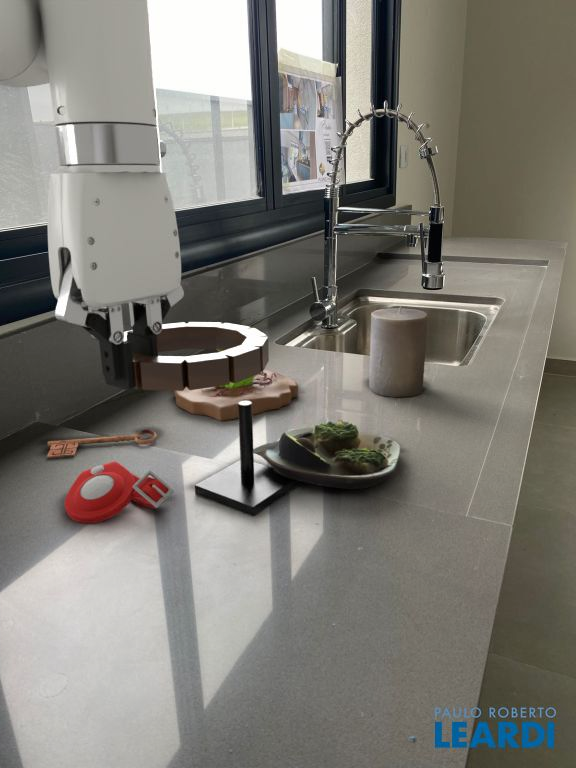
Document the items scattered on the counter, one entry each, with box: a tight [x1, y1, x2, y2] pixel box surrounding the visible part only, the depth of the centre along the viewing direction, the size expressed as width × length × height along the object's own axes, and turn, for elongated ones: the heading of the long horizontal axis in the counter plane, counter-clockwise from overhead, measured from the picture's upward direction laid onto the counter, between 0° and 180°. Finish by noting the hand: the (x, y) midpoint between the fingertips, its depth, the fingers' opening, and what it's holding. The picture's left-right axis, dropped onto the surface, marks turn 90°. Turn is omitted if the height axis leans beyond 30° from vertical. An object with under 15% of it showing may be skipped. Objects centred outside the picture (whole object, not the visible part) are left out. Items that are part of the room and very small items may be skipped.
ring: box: [123, 321, 270, 392], centre depth 57 cm, size 15×15×2 cm
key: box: [46, 429, 157, 459], centre depth 85 cm, size 6×1×15 cm
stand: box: [194, 401, 300, 517], centre depth 71 cm, size 9×9×11 cm
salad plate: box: [253, 419, 401, 490], centre depth 80 cm, size 19×18×5 cm
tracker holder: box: [64, 461, 175, 524], centre depth 70 cm, size 12×4×10 cm
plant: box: [173, 349, 299, 422], centre depth 103 cm, size 20×20×11 cm
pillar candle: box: [368, 305, 428, 398], centre depth 106 cm, size 10×10×15 cm
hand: (132, 380), depth 52 cm, fingers closed on ring, 2 cm apart
